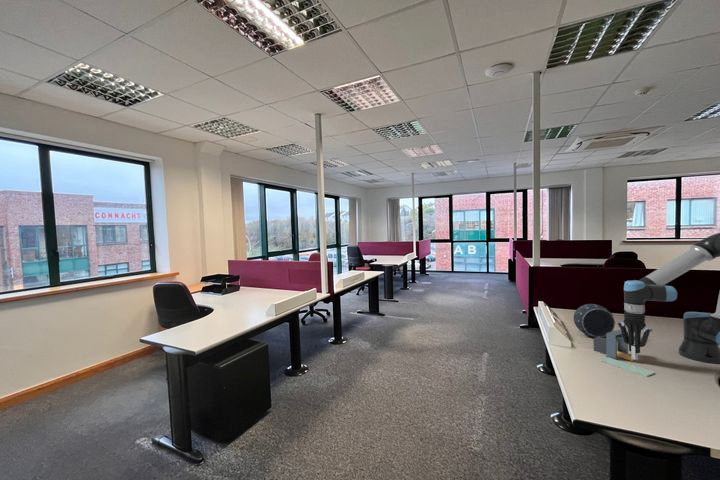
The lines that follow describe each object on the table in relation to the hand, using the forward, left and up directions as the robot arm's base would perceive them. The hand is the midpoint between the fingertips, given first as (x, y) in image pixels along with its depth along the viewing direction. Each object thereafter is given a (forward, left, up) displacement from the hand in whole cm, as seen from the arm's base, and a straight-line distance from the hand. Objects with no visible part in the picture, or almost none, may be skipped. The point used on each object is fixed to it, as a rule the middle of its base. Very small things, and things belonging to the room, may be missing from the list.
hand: (634, 358), depth 145 cm
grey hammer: (0, -9, -2) cm, 9 cm away
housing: (0, -7, -2) cm, 7 cm away
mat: (+10, +1, -2) cm, 11 cm away
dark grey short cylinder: (-22, -30, -2) cm, 37 cm away
